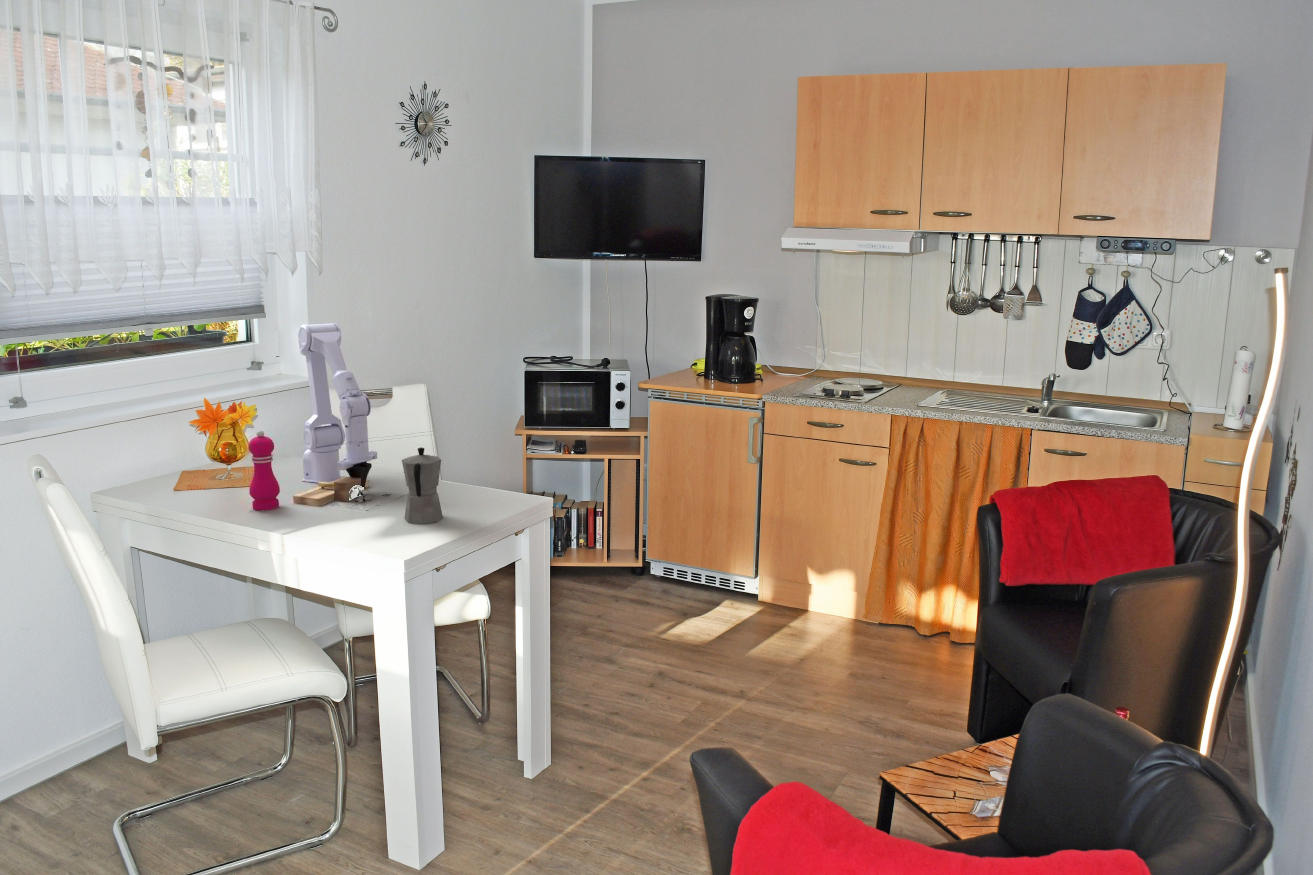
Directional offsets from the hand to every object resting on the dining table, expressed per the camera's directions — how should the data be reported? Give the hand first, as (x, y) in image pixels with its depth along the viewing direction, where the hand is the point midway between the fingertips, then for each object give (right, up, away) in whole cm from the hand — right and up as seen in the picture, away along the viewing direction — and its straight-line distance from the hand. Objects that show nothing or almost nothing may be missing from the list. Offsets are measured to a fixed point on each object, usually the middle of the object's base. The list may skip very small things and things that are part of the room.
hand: (359, 490), depth 261 cm
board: (-7, -1, -1) cm, 7 cm away
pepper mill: (-20, -4, -13) cm, 24 cm away
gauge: (-5, -2, -3) cm, 6 cm away
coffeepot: (+22, -6, -22) cm, 32 cm away
